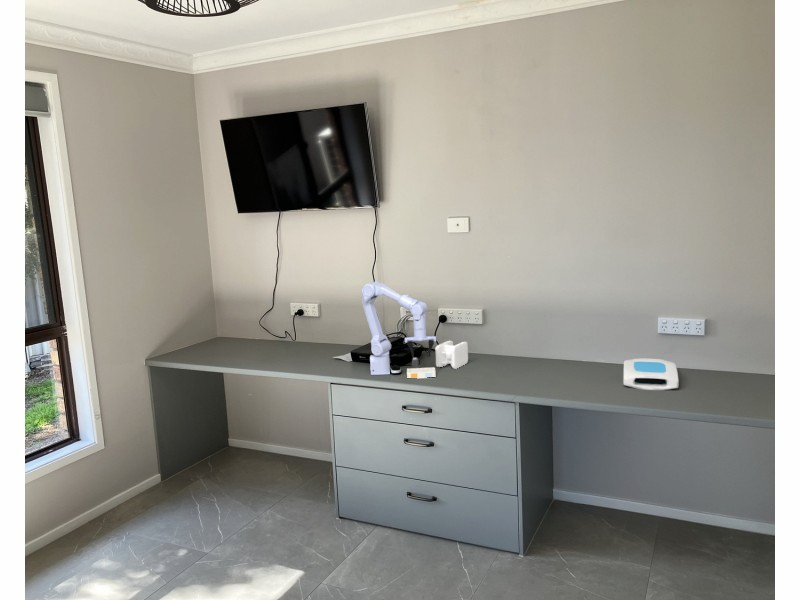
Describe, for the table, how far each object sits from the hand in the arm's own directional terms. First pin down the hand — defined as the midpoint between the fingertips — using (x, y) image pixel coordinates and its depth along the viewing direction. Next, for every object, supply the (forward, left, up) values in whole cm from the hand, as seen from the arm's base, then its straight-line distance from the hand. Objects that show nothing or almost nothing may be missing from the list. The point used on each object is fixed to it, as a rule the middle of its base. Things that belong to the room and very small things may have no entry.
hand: (421, 356), depth 293 cm
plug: (-3, +9, -9) cm, 13 cm away
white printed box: (0, 0, -9) cm, 9 cm away
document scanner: (+98, -21, -10) cm, 101 cm away
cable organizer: (+15, +15, -10) cm, 23 cm away
